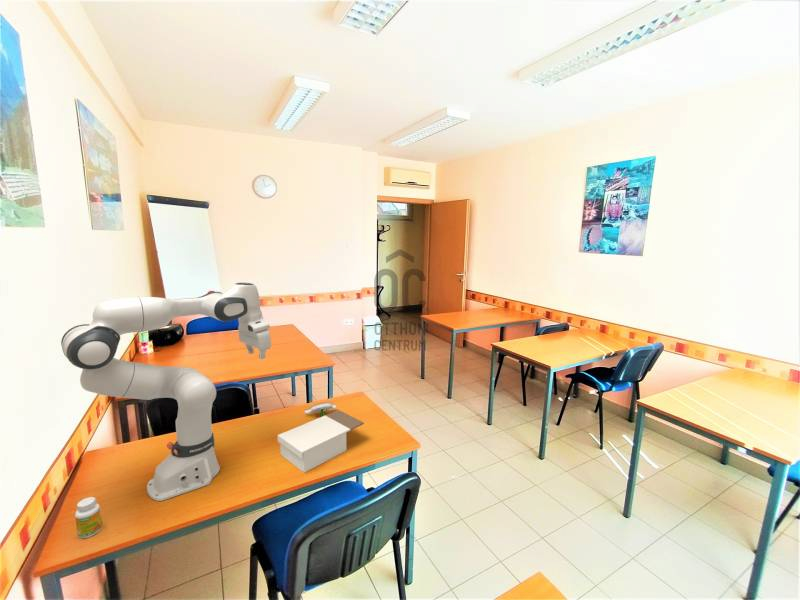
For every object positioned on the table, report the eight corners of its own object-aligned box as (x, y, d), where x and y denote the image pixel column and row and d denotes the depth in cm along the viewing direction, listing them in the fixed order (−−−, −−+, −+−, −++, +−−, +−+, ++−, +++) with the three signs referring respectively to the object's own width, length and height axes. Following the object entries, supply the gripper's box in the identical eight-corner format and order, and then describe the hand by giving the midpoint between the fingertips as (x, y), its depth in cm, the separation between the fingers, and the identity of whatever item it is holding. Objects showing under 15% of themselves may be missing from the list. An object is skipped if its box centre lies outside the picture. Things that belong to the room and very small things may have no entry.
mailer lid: (301, 458, 130) (301, 452, 130) (277, 441, 142) (277, 435, 141) (364, 428, 152) (363, 422, 152) (338, 415, 164) (338, 409, 164)
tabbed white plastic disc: (333, 406, 184) (336, 393, 178) (337, 420, 179) (339, 407, 172) (304, 412, 178) (305, 398, 172) (306, 426, 173) (308, 412, 166)
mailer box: (304, 472, 132) (303, 452, 131) (280, 454, 143) (279, 436, 142) (346, 450, 147) (346, 432, 145) (322, 435, 158) (321, 418, 157)
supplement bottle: (79, 542, 100) (75, 511, 99) (76, 532, 104) (72, 502, 103) (103, 531, 104) (100, 501, 103) (100, 521, 108) (96, 492, 107)
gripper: (231, 321, 144) (237, 352, 147) (255, 329, 130) (261, 364, 134) (247, 317, 148) (252, 348, 152) (271, 324, 135) (276, 358, 138)
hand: (256, 355), depth 143 cm, fingers open, 8 cm apart
